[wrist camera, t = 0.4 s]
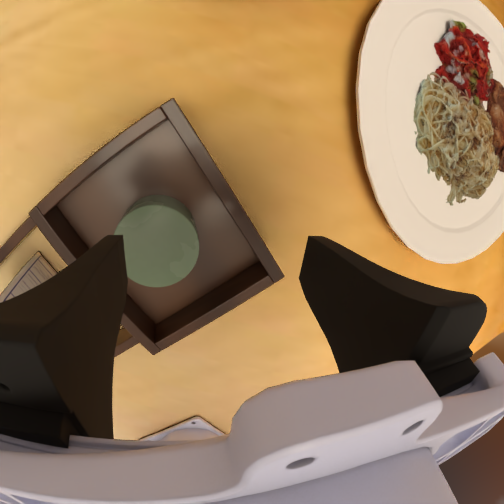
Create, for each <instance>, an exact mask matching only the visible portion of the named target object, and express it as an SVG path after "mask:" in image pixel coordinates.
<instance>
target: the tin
mask: <svg viewBox="0 0 504 504" xmlns="http://www.w3.org/2000/svg"><path fill="white" fill-rule="evenodd" d="M114 235H123V240H124V251H125V260H126V269H127V277H129V278H130V279H131V280H133V281H134V282H136V283H138V284H141V285H144V286H148V287H165V286H169V285H172V284H175V283H177V282H179V281H180V280H182V279H183V278H185V277H186V276H187V275H188V274H189V273H190V271H191V270H192V269H193V267H194V266H195V264H196V261H197V258H198V255H199V239H198V233H197V227H196V223H195V220H194V217H193V215H192V214H191V212H190V211H189V209H188V208H187V207H186V206H185V205H184V204H183V203H181V202H180V201H178V200H177V199H175V198H172V197H170V196H166V195H150V196H146V197H143V198H141V199H139V200H137V201H136V202H134V203H133V204H132V205H131V206H130V207H129V208H128V209H127V210H126V212H125V213H124V215H123V217H122V218H121V220H120V222H119V224H118V225H117V228H116V230H115V232H114Z"/></svg>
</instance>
